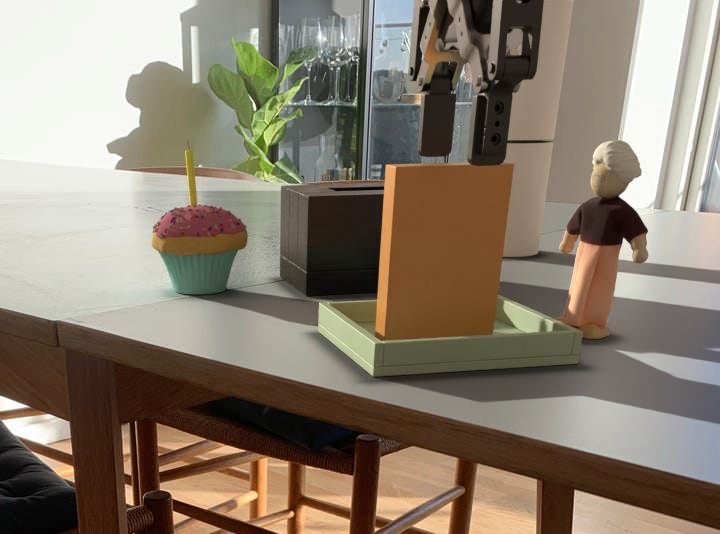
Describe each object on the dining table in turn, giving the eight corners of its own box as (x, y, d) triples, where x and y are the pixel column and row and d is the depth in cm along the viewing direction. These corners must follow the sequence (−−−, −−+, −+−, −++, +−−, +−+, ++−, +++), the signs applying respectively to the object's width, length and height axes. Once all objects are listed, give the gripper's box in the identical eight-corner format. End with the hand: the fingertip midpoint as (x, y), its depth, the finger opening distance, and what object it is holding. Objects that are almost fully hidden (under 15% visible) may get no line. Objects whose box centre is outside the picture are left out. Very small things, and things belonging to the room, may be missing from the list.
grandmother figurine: (525, 328, 71) (553, 139, 65) (555, 321, 74) (584, 137, 67) (618, 347, 66) (657, 143, 60) (646, 338, 68) (687, 141, 62)
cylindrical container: (497, 245, 108) (529, -21, 95) (551, 251, 103) (592, -27, 91) (457, 251, 104) (485, -25, 91) (511, 259, 99) (549, -32, 87)
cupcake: (140, 286, 87) (131, 140, 81) (222, 278, 91) (219, 137, 85) (178, 302, 81) (171, 145, 75) (265, 293, 84) (265, 141, 78)
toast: (480, 332, 68) (501, 161, 62) (492, 338, 66) (514, 163, 61) (374, 338, 67) (385, 164, 61) (383, 345, 65) (396, 166, 59)
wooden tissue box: (437, 269, 94) (445, 180, 90) (478, 287, 86) (489, 190, 82) (279, 276, 91) (280, 185, 87) (305, 296, 83) (308, 196, 79)
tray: (493, 321, 74) (497, 293, 73) (578, 364, 62) (583, 331, 61) (317, 331, 71) (318, 302, 70) (373, 377, 60) (375, 343, 59)
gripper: (616, -194, 47) (564, 167, 56) (496, -138, 59) (468, 152, 68) (475, -198, 46) (444, 171, 54) (382, -140, 58) (368, 155, 66)
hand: (458, 160), depth 61 cm, fingers open, 8 cm apart
